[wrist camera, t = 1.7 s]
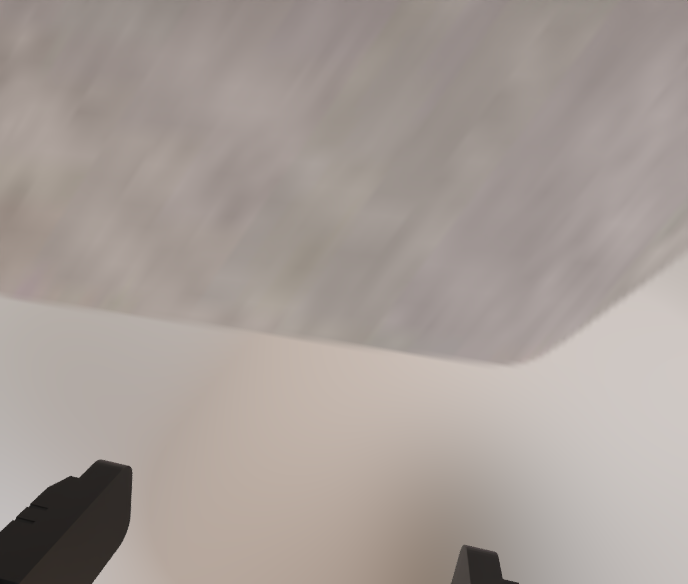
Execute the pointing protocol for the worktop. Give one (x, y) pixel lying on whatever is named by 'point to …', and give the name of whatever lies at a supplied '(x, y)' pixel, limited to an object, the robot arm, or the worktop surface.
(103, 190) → the worktop surface
